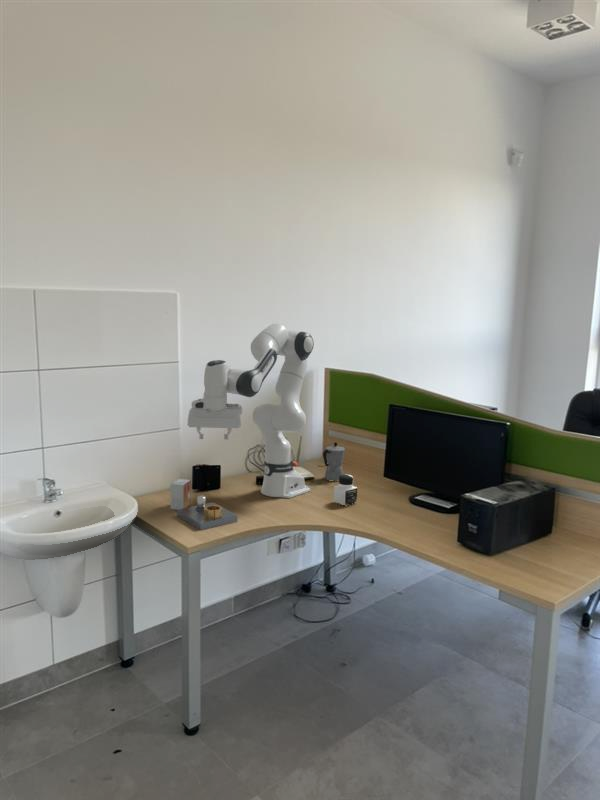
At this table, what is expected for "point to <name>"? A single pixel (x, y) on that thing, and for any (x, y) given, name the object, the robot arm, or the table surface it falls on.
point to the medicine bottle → (345, 490)
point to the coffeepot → (334, 461)
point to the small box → (180, 494)
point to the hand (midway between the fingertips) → (213, 439)
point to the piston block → (197, 518)
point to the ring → (213, 512)
